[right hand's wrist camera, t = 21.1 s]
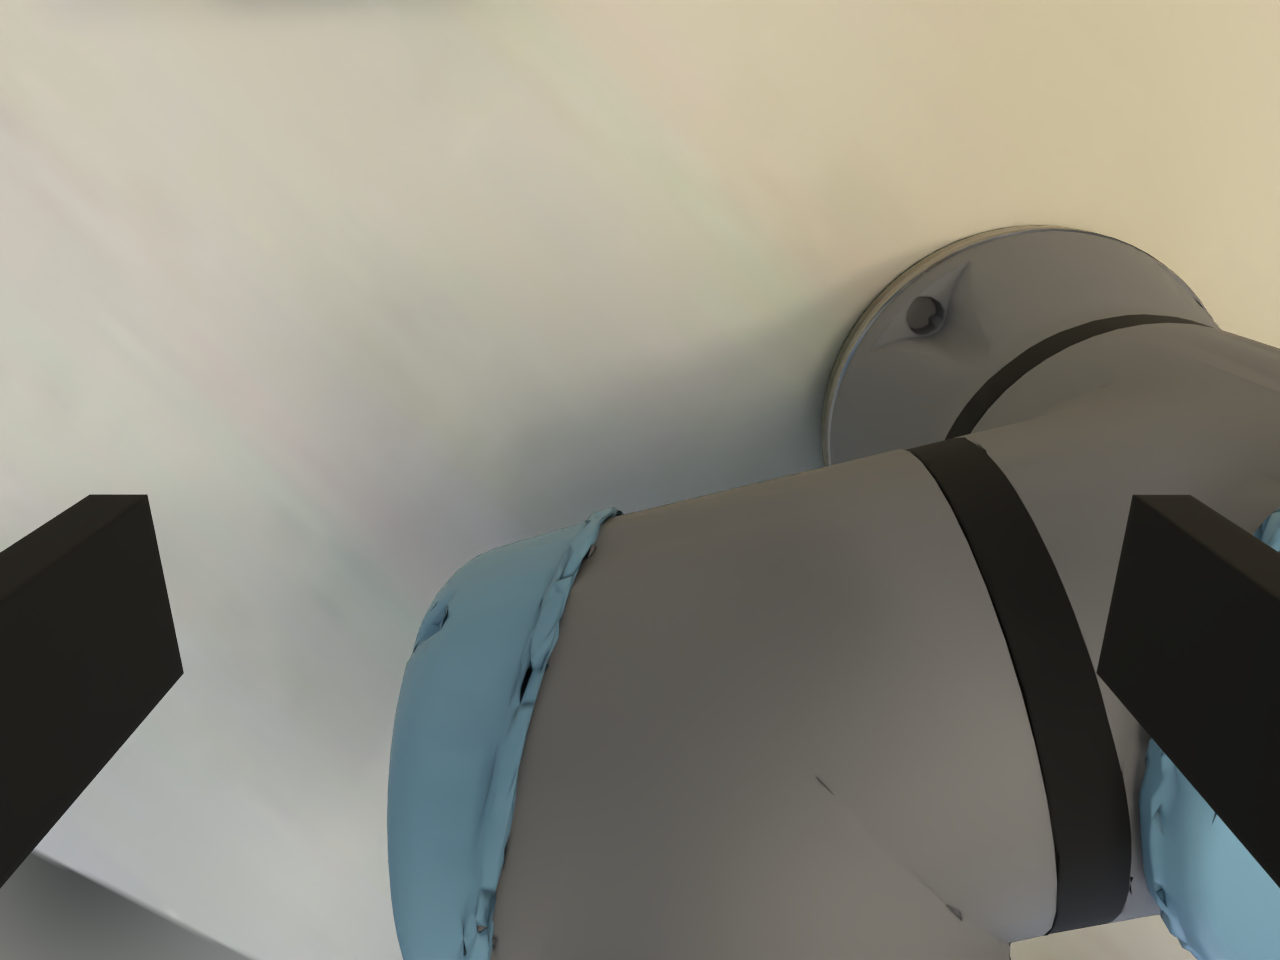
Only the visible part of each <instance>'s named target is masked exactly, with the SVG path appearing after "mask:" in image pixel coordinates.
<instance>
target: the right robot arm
mask: <svg viewBox="0 0 1280 960" xmlns="http://www.w3.org/2000/svg"><path fill="white" fill-rule="evenodd" d="M821 439H822V451H823V458H824V463H825V467H822V468H818V469H814V470H810V471H805V472H801V473H797V474H793V475H789V476H785V477H780V478H776V479H772V480H768V481H764V482H759V483H755V484H751V485H747V486H743V487H739V488H734V489H730V490H726V491H722V492H718V493H713V494H709V495H705V496H701V497H697V498H693V499H688V500H684V501H680V502H676V503H672V504H667V505H663V506H659V507H655V508H651V509H647V510H642V511H638V512H634V513H629V514H625V515H624V514H623V513H622V511H619V510H617V509H615V508H609V509H604V510H601V511H598V512H595V513H593V514H592V515H591V516H590V517H589V518H588V519H586V520H585V522H584V523H581V524H577V525H574V526H570V527H567V528H564V529H560V530H557V531H553V532H550V533H546V534H543V535H539V536H536V537H533V538H529V539H526V540H522V541H519V542H515V543H512V544H508V545H505V546H502V547H498V548H495V549H492V550H490V551H488V552H485V553H483V554H481V555H479V556H477V557H475V558H474V559H472V560H470V561H469V562H468V563H466V564H465V565H464V566H462V567H461V568H460V569H459V570H458V571H457V572H456V573H455V574H454V575H453V576H452V577H451V578H450V579H449V580H448V582H447V583H446V584H445V585H444V586H443V588H442V589H441V590H440V591H439V593H438V594H437V595H436V597H435V599H434V601H433V602H432V604H431V606H430V608H429V609H428V611H427V613H426V615H425V617H424V619H423V621H422V623H421V626H420V629H419V632H418V635H417V638H416V642H415V645H414V649H413V653H412V655H411V658H410V659H409V661H408V662H407V665H406V669H405V673H404V677H403V681H402V686H401V690H400V694H399V699H398V704H397V709H396V715H395V722H394V729H393V737H392V745H391V753H390V766H389V781H388V805H387V833H388V863H389V875H390V888H391V899H392V907H393V914H394V920H395V926H396V932H397V937H398V941H399V945H400V949H401V952H402V956H403V960H1011V959H1010V943H1011V942H1016V941H1020V940H1025V939H1030V938H1034V937H1039V936H1045V935H1048V934H1052V933H1057V932H1063V931H1068V930H1074V929H1079V928H1085V927H1090V926H1096V925H1101V924H1107V923H1112V922H1119V921H1125V920H1130V919H1135V918H1140V917H1146V916H1152V915H1161V918H1162V919H1163V921H1164V923H1165V925H1166V926H1167V928H1168V930H1169V931H1170V933H1171V934H1172V935H1174V936H1175V937H1177V938H1178V940H1179V942H1180V944H1181V946H1182V948H1184V949H1186V950H1188V951H1190V952H1191V953H1192V954H1193V956H1194V957H1195V958H1196V959H1197V960H1280V349H1279V348H1276V347H1273V346H1269V345H1266V344H1263V343H1260V342H1257V341H1254V340H1251V339H1248V338H1245V337H1241V336H1238V335H1235V334H1232V333H1229V332H1226V331H1223V330H1221V329H1220V328H1219V327H1218V326H1217V324H1216V323H1215V322H1214V321H1213V319H1212V317H1211V316H1210V315H1209V313H1208V312H1207V310H1206V309H1205V307H1204V305H1203V304H1202V302H1201V301H1200V300H1199V298H1198V297H1197V296H1196V295H1195V293H1194V292H1193V291H1192V290H1191V289H1190V287H1189V286H1188V285H1187V284H1186V283H1185V282H1184V281H1183V280H1182V279H1181V278H1180V277H1178V276H1177V275H1176V274H1175V273H1174V272H1173V271H1171V270H1170V269H1169V268H1167V267H1166V266H1165V265H1164V264H1162V263H1161V262H1159V261H1158V260H1157V259H1155V258H1154V257H1152V256H1151V255H1149V254H1148V253H1146V252H1144V251H1142V250H1140V249H1138V248H1136V247H1134V246H1133V245H1130V244H1128V243H1125V242H1123V241H1120V240H1118V239H1115V238H1112V237H1108V236H1104V235H1101V234H1097V233H1093V232H1088V231H1083V230H1078V229H1072V228H1066V227H1060V226H1044V225H1031V226H1016V227H1009V228H1003V229H997V230H993V231H989V232H985V233H981V234H977V235H974V236H971V237H969V238H966V239H963V240H960V241H958V242H955V243H953V244H951V245H949V246H947V247H945V248H942V249H940V250H938V251H937V252H935V253H933V254H931V255H930V256H928V257H926V258H925V259H923V260H921V261H920V262H918V263H917V264H915V265H914V266H913V267H911V268H910V269H908V270H907V271H905V272H904V273H903V274H902V275H901V276H899V277H898V278H897V279H896V280H895V281H894V282H892V283H891V284H890V285H889V286H888V287H887V288H886V289H885V290H884V291H883V292H882V293H881V294H880V295H879V296H878V297H877V298H876V299H875V300H874V301H873V303H872V304H871V305H870V306H869V307H868V309H867V310H866V311H865V312H864V313H863V315H862V316H861V317H860V319H859V320H858V322H857V323H856V325H855V326H854V328H853V329H852V331H851V332H850V334H849V336H848V338H847V339H846V341H845V343H844V345H843V347H842V348H841V351H840V353H839V355H838V357H837V360H836V362H835V364H834V367H833V370H832V373H831V376H830V379H829V382H828V385H827V390H826V394H825V399H824V405H823V413H822V427H821ZM183 673H184V672H183V667H182V663H181V658H180V653H179V648H178V643H177V638H176V633H175V628H174V623H173V618H172V614H171V609H170V604H169V599H168V594H167V589H166V584H165V579H164V574H163V569H162V564H161V560H160V555H159V550H158V545H157V540H156V535H155V530H154V525H153V520H152V515H151V510H150V506H149V501H148V496H147V495H89V496H87V497H85V498H84V499H82V500H81V501H79V502H78V503H76V504H75V505H73V506H72V507H70V508H68V509H67V510H65V511H64V512H62V513H61V514H59V515H58V516H56V517H55V518H53V519H52V520H50V521H48V522H47V523H45V524H44V525H42V526H41V527H39V528H38V529H36V530H35V531H33V532H32V533H30V534H28V535H27V536H25V537H24V538H22V539H21V540H19V541H18V542H16V543H15V544H13V545H11V546H10V547H8V548H7V549H5V550H4V551H2V552H1V553H0V888H1V887H2V886H3V884H4V883H5V882H6V881H7V880H8V879H9V877H10V876H11V875H12V874H13V873H14V872H15V870H16V869H17V868H18V867H19V866H20V865H21V863H22V862H23V861H24V860H25V859H26V857H27V856H28V855H29V854H30V853H31V852H32V850H33V849H34V848H35V847H36V846H37V845H38V843H39V842H40V841H41V840H42V839H43V838H44V836H45V835H46V834H47V833H48V832H49V831H50V829H51V828H52V827H53V826H54V825H55V823H56V822H57V821H58V820H59V819H60V818H61V816H62V815H63V814H64V813H65V812H66V811H67V809H68V808H69V807H70V806H71V805H72V804H73V802H74V801H75V800H76V799H77V798H78V796H79V795H80V794H81V793H82V792H83V791H84V789H85V788H86V787H87V786H88V785H89V784H90V782H91V781H92V780H93V779H94V778H95V777H96V775H97V774H98V773H99V772H100V771H101V769H102V768H103V767H104V766H105V765H106V764H107V762H108V761H109V760H110V759H111V758H112V757H113V755H114V754H115V753H116V752H117V751H118V750H119V748H120V747H121V746H122V745H123V744H124V743H125V741H126V740H127V739H128V738H129V737H130V735H131V734H132V733H133V732H134V731H135V730H136V728H137V727H138V726H139V725H140V724H141V723H142V721H143V720H144V719H145V718H146V717H147V716H148V714H149V713H150V712H151V711H152V710H153V708H154V707H155V706H156V705H157V704H158V703H159V701H160V700H161V699H162V698H163V697H164V696H165V694H166V693H167V692H168V691H169V690H170V689H171V687H172V686H173V685H174V684H175V683H176V681H177V680H178V679H179V678H180V677H181V676H182V674H183Z"/></svg>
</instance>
